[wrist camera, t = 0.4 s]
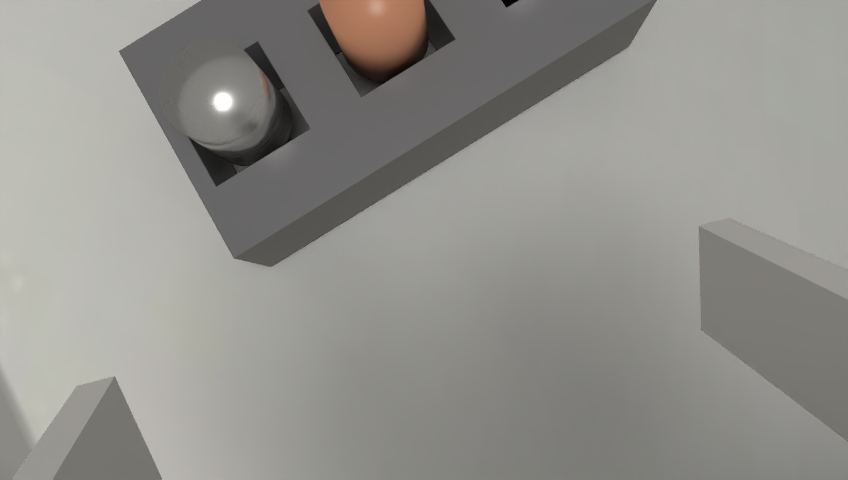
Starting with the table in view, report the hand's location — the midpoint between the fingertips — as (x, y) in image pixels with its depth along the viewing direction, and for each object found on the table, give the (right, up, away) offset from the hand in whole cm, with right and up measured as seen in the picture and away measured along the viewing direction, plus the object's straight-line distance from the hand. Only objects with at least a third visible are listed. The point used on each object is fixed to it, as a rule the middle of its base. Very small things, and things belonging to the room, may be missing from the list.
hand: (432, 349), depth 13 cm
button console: (-2, +12, +19) cm, 23 cm away
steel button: (-9, +8, +16) cm, 20 cm away
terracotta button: (-2, +13, +16) cm, 20 cm away
